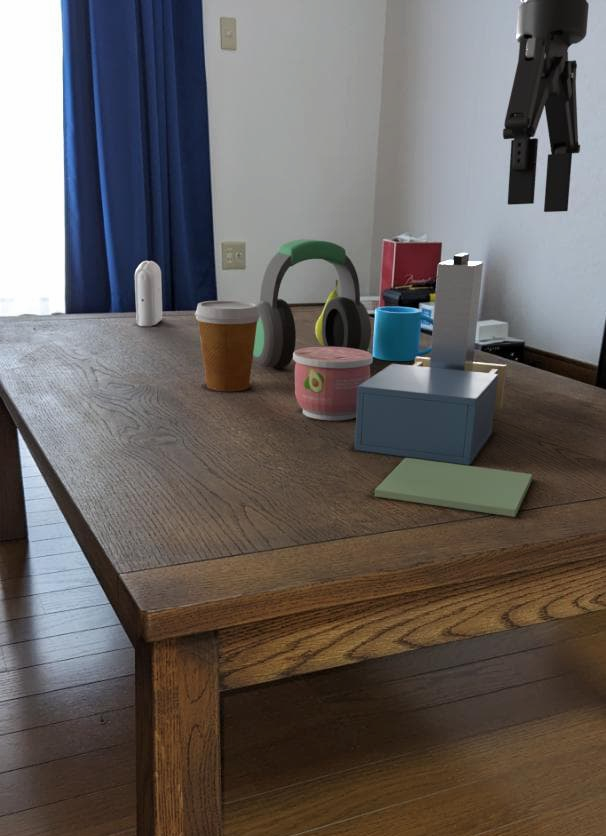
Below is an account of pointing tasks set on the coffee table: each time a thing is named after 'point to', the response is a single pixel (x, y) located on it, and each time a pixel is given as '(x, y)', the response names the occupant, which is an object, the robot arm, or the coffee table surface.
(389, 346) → the mug
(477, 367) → the drawer
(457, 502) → the mat
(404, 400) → the cabinet
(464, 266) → the silver box
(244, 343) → the disposable coffee cup
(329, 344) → the headphones
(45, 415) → the coffee table surface
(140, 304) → the white pill-shaped pillar
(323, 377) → the container
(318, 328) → the fruit
